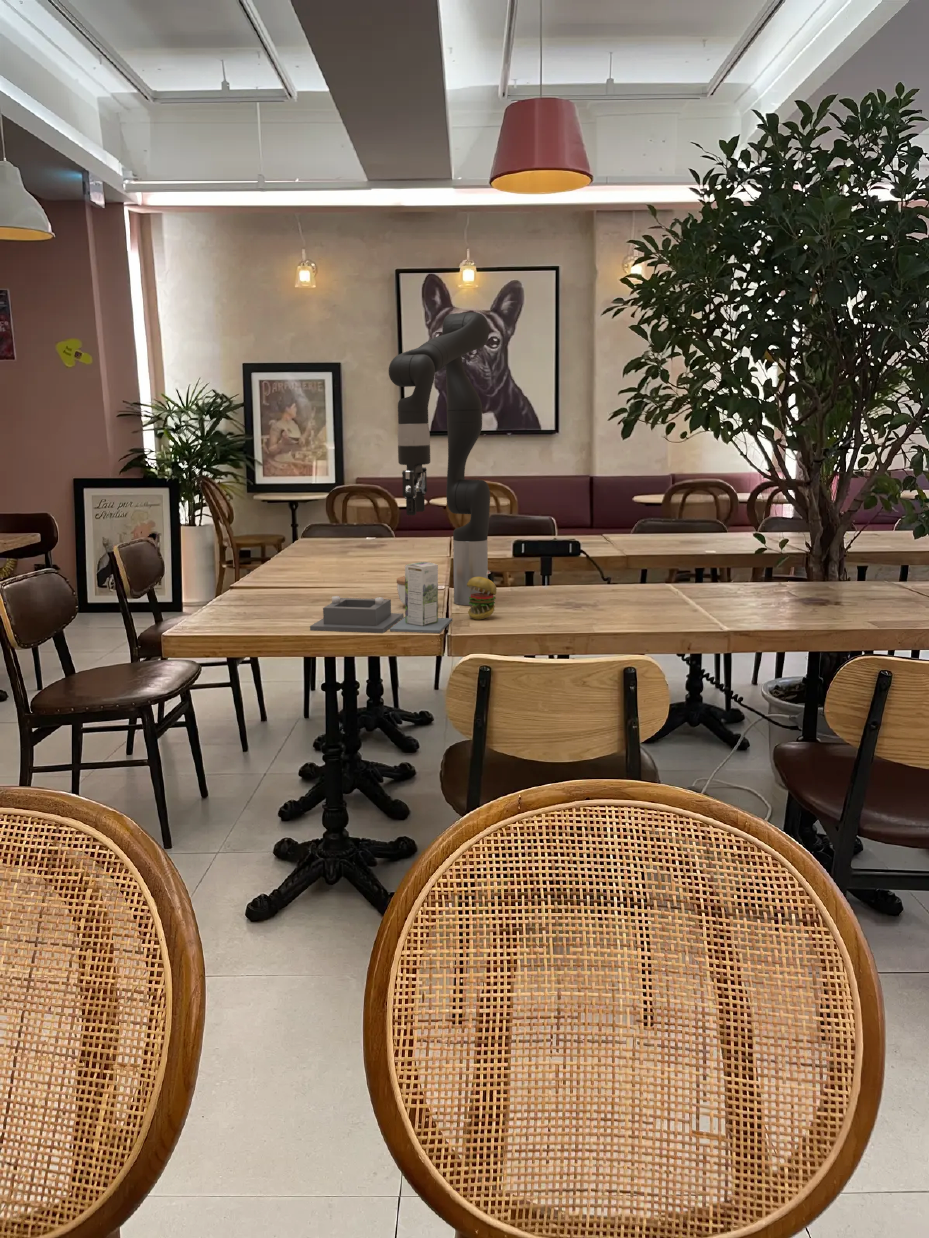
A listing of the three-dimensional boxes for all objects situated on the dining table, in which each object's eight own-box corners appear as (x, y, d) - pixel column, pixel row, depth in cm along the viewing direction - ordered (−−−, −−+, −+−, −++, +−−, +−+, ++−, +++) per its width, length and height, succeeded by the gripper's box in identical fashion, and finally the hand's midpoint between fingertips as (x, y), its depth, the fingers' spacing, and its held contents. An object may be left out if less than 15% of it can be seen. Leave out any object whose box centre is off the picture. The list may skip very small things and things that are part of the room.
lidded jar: (389, 608, 239) (388, 573, 237) (410, 602, 248) (409, 568, 246) (424, 612, 234) (423, 576, 232) (444, 605, 243) (444, 570, 241)
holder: (335, 615, 231) (334, 590, 230) (403, 617, 227) (403, 592, 226) (310, 630, 214) (308, 603, 212) (383, 632, 210) (382, 605, 209)
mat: (405, 619, 225) (405, 616, 225) (452, 620, 223) (452, 618, 223) (389, 631, 212) (389, 628, 212) (439, 633, 210) (439, 630, 209)
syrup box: (420, 619, 222) (419, 561, 219) (439, 622, 218) (438, 563, 215) (405, 623, 217) (403, 564, 214) (423, 626, 214) (422, 566, 211)
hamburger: (460, 618, 226) (460, 570, 224) (481, 613, 231) (480, 567, 229) (482, 622, 221) (482, 574, 218) (503, 618, 226) (503, 570, 223)
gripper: (422, 444, 203) (424, 516, 207) (436, 442, 217) (437, 510, 220) (390, 445, 204) (392, 516, 208) (405, 443, 218) (407, 510, 222)
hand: (415, 513), depth 214 cm, fingers open, 8 cm apart
